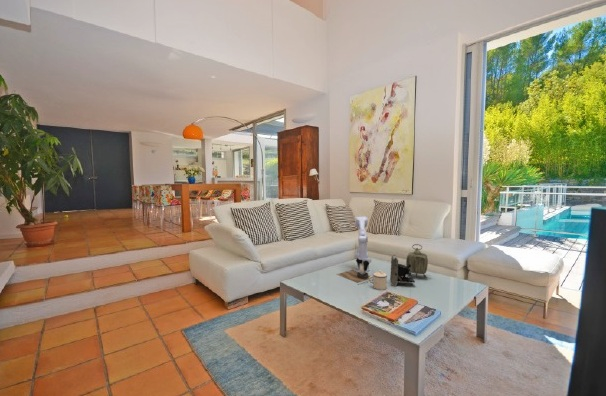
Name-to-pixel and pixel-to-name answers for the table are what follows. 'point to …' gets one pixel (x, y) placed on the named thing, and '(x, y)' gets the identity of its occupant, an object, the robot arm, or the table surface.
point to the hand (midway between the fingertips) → (362, 269)
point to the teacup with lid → (379, 280)
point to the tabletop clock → (417, 262)
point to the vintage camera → (399, 272)
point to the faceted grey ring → (362, 275)
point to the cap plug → (362, 269)
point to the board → (352, 276)
